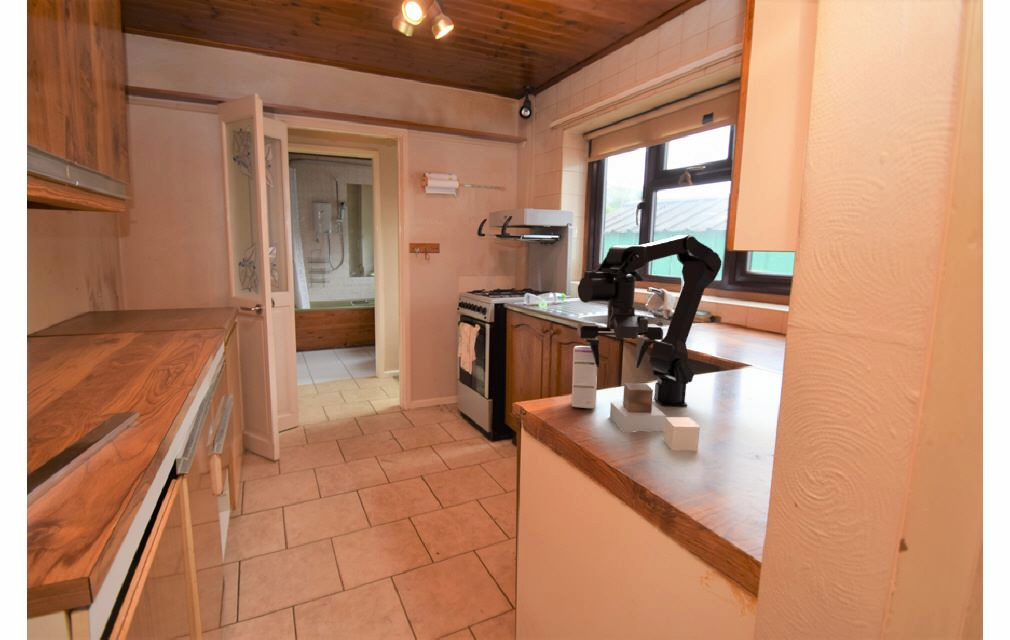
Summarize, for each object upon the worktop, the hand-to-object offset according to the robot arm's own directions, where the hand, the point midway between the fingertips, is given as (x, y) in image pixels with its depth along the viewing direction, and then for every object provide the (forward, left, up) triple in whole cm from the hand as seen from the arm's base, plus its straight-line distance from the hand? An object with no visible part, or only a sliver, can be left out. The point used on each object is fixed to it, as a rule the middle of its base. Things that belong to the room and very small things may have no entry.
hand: (617, 367), depth 109 cm
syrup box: (+7, -3, -11) cm, 13 cm away
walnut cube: (-3, +7, -7) cm, 11 cm away
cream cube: (-9, +18, -11) cm, 23 cm away
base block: (-3, +7, -11) cm, 14 cm away
